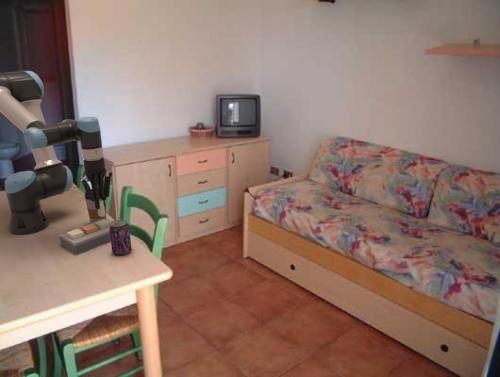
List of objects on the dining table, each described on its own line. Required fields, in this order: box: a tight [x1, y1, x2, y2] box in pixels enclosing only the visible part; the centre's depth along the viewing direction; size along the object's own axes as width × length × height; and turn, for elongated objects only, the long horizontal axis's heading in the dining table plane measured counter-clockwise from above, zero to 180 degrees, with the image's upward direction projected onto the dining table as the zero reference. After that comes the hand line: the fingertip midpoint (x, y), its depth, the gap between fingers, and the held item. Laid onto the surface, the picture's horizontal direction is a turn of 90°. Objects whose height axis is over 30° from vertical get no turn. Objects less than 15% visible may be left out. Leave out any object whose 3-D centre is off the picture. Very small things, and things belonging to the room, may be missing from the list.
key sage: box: [95, 219, 111, 230], centre depth 177 cm, size 4×4×3 cm
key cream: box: [66, 228, 84, 240], centre depth 169 cm, size 4×4×3 cm
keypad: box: [58, 220, 111, 256], centre depth 174 cm, size 12×19×5 cm, turn 138°
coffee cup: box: [84, 188, 107, 224], centre depth 188 cm, size 8×8×15 cm
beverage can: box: [109, 218, 132, 256], centre depth 164 cm, size 7×7×12 cm
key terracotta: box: [80, 223, 98, 235], centre depth 173 cm, size 4×4×3 cm
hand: (101, 215), depth 176 cm, fingers closed
